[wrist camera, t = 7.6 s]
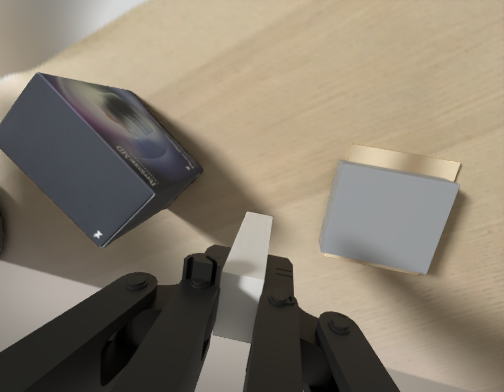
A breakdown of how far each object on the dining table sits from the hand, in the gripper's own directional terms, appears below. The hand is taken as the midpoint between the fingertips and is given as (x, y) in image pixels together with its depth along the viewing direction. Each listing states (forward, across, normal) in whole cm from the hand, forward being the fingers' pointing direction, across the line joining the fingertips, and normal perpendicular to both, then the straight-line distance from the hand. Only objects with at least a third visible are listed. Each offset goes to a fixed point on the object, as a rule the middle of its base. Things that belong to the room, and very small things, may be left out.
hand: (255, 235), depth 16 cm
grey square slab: (+10, +6, 0) cm, 11 cm away
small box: (+12, -12, +1) cm, 17 cm away
